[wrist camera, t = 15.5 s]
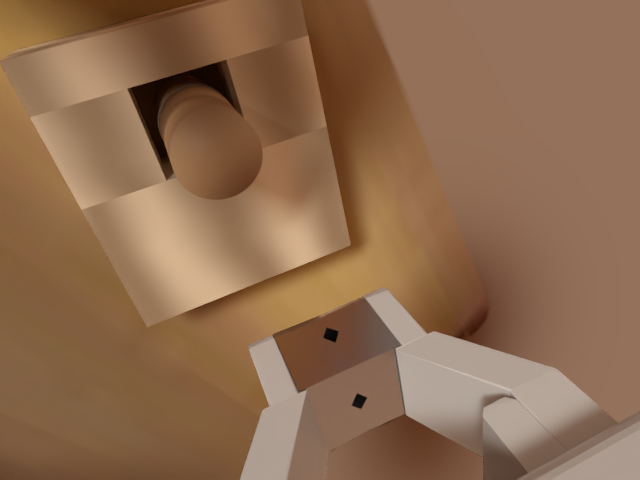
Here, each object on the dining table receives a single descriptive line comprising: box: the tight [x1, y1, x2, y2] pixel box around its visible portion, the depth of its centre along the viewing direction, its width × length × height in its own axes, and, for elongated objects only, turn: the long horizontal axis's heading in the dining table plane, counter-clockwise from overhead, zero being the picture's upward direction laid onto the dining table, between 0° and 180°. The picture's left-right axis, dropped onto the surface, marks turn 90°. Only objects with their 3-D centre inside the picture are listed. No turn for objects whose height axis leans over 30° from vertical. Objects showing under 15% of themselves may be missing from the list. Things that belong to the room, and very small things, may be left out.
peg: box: [156, 75, 263, 200], centre depth 24 cm, size 4×4×10 cm
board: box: [0, 0, 351, 327], centre depth 28 cm, size 14×16×4 cm
